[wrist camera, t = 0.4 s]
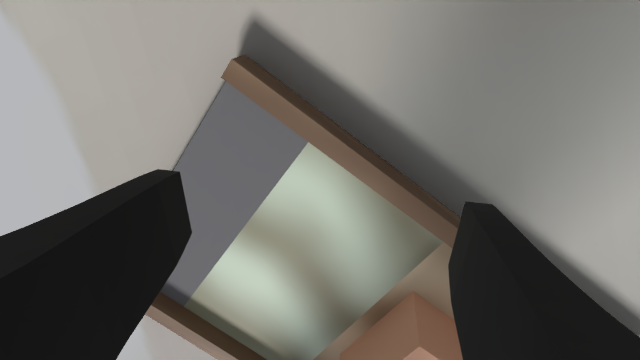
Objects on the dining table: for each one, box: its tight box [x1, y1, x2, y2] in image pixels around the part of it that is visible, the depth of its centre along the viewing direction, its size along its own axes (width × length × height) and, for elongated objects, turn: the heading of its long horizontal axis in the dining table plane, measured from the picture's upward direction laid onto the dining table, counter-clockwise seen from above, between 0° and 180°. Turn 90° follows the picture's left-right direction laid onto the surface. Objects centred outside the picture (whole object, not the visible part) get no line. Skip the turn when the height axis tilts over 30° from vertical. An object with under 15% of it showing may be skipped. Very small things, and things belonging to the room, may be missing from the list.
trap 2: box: [160, 82, 308, 307], centre depth 22 cm, size 15×5×1 cm, turn 144°
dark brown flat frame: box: [145, 55, 461, 360], centre depth 23 cm, size 17×27×2 cm, turn 54°
